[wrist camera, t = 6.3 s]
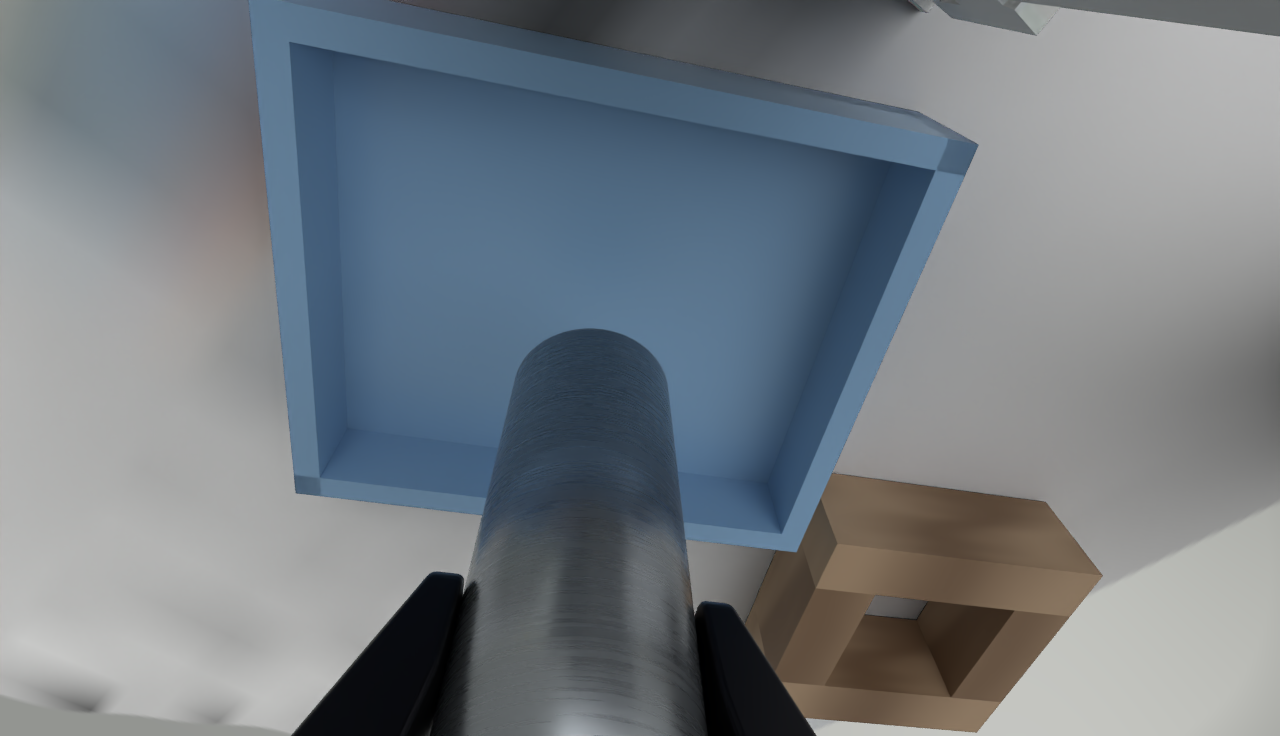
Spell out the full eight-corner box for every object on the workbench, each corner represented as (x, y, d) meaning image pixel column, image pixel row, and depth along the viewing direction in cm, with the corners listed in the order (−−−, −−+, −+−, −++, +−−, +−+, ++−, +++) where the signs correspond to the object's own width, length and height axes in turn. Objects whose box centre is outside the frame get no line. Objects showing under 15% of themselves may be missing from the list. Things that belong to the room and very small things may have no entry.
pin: (716, 323, 12) (1006, 1421, 3) (670, 486, 14) (760, 1437, 5) (495, 286, 12) (70, 1470, 3) (479, 461, 14) (211, 1464, 5)
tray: (918, 111, 15) (978, 145, 13) (774, 478, 21) (796, 552, 18) (317, -15, 14) (248, -6, 11) (338, 421, 19) (295, 493, 17)
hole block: (1045, 502, 22) (1103, 575, 19) (941, 655, 26) (976, 732, 23) (810, 470, 21) (837, 543, 18) (740, 635, 25) (754, 713, 22)
